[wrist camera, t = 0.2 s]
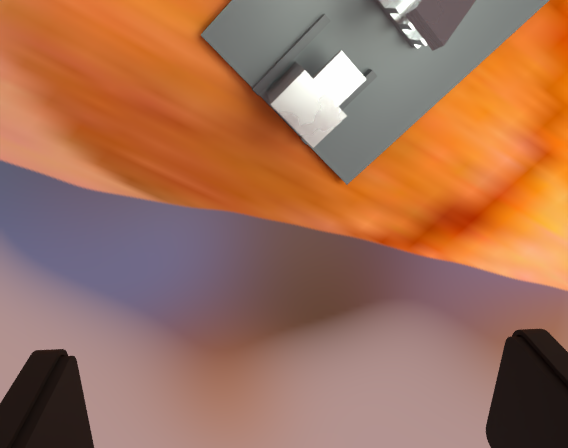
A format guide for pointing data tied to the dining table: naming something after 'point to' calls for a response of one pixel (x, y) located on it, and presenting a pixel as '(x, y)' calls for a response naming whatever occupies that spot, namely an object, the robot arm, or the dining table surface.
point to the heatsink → (402, 20)
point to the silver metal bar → (437, 19)
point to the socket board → (359, 62)
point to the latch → (315, 96)
